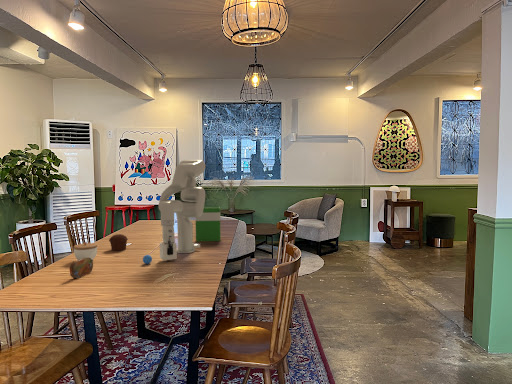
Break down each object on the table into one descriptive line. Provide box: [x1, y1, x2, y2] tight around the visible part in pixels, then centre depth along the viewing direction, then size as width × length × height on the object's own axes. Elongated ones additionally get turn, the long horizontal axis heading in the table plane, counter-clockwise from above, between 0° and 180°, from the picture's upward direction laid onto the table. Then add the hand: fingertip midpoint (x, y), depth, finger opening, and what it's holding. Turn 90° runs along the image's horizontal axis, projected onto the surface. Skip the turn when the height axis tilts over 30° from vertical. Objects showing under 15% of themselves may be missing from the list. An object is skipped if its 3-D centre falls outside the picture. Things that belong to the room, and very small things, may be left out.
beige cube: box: [159, 241, 178, 261], centre depth 215 cm, size 8×8×9 cm
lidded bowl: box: [73, 241, 98, 261], centre depth 217 cm, size 13×13×11 cm
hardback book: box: [195, 206, 222, 242], centre depth 275 cm, size 18×7×24 cm, turn 93°
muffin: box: [108, 233, 128, 252], centre depth 246 cm, size 12×11×10 cm
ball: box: [142, 254, 153, 265], centre depth 210 cm, size 5×5×5 cm
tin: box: [69, 258, 94, 279], centre depth 187 cm, size 15×3×8 cm, turn 168°
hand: (168, 253), depth 215 cm, fingers closed on beige cube, 7 cm apart
